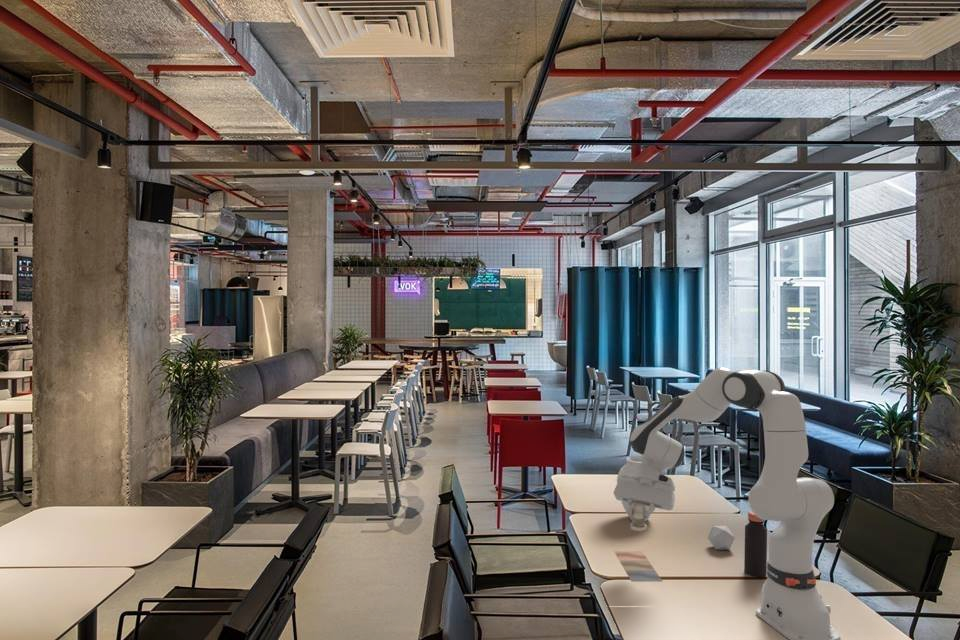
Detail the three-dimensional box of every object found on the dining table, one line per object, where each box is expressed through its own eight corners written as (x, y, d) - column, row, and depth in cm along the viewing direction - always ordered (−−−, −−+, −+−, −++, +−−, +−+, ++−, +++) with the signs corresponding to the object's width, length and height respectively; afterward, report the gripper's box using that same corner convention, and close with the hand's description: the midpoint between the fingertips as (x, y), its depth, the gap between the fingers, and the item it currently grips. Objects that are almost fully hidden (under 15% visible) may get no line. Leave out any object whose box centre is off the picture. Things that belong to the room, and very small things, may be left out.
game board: (662, 582, 198) (662, 581, 198) (631, 582, 198) (631, 581, 198) (642, 552, 222) (642, 551, 222) (614, 552, 222) (614, 551, 222)
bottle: (739, 570, 207) (740, 511, 206) (755, 567, 209) (756, 508, 209) (755, 578, 201) (756, 517, 200) (771, 575, 203) (772, 515, 203)
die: (731, 556, 220) (741, 532, 223) (709, 543, 221) (720, 519, 224) (722, 556, 228) (732, 532, 230) (700, 542, 229) (711, 519, 232)
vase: (643, 509, 268) (644, 452, 268) (669, 523, 252) (670, 462, 251) (608, 514, 262) (608, 455, 261) (633, 528, 245) (633, 465, 245)
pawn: (649, 531, 204) (649, 505, 204) (632, 531, 204) (632, 505, 204) (644, 525, 210) (645, 499, 209) (628, 525, 210) (628, 499, 209)
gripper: (617, 469, 218) (606, 504, 210) (676, 479, 206) (666, 517, 199) (622, 478, 222) (611, 513, 214) (679, 489, 210) (670, 526, 202)
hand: (638, 515), depth 206 cm, fingers closed on pawn, 4 cm apart
